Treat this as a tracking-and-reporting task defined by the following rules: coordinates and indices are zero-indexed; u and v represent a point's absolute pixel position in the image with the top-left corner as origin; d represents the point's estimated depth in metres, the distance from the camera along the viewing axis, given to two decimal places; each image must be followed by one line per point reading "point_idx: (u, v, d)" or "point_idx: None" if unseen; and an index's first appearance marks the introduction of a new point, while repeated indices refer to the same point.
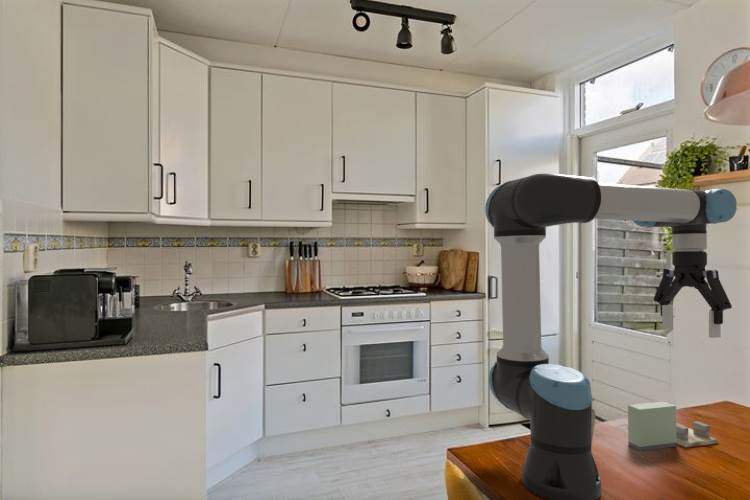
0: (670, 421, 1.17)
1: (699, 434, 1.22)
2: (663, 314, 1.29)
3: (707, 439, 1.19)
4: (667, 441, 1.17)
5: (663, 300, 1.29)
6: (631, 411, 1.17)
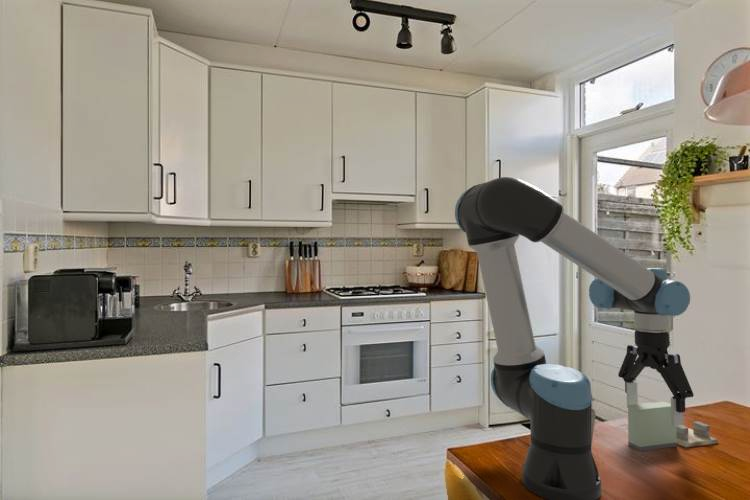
0: (670, 421, 1.17)
1: (699, 434, 1.22)
2: (627, 392, 1.24)
3: (707, 439, 1.19)
4: (667, 441, 1.17)
5: (627, 377, 1.25)
6: (631, 411, 1.17)
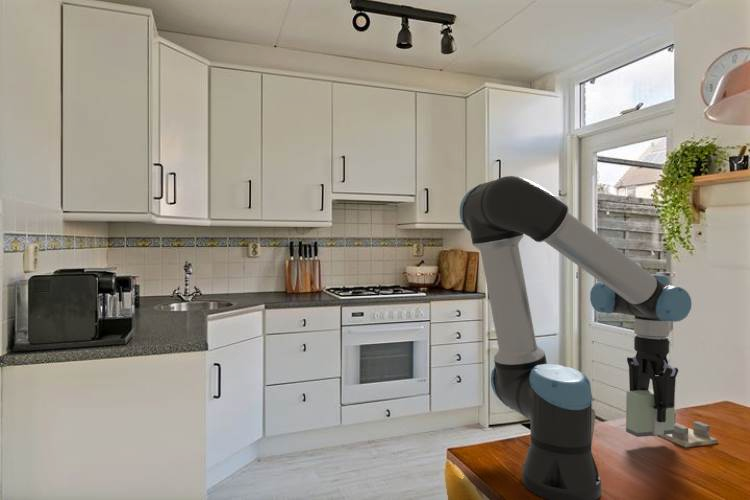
0: (668, 408, 1.17)
1: (699, 434, 1.22)
2: None
3: (707, 439, 1.19)
4: (665, 428, 1.17)
5: None
6: (629, 397, 1.17)
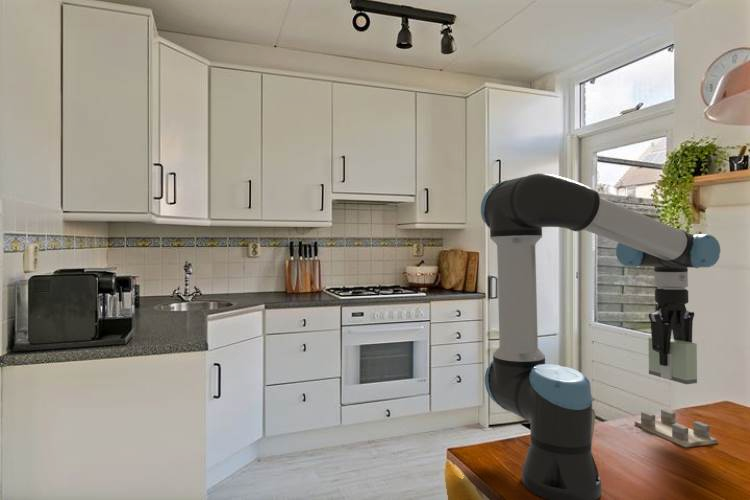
0: (679, 357, 1.21)
1: (699, 434, 1.22)
2: None
3: (707, 439, 1.19)
4: (676, 375, 1.22)
5: None
6: None
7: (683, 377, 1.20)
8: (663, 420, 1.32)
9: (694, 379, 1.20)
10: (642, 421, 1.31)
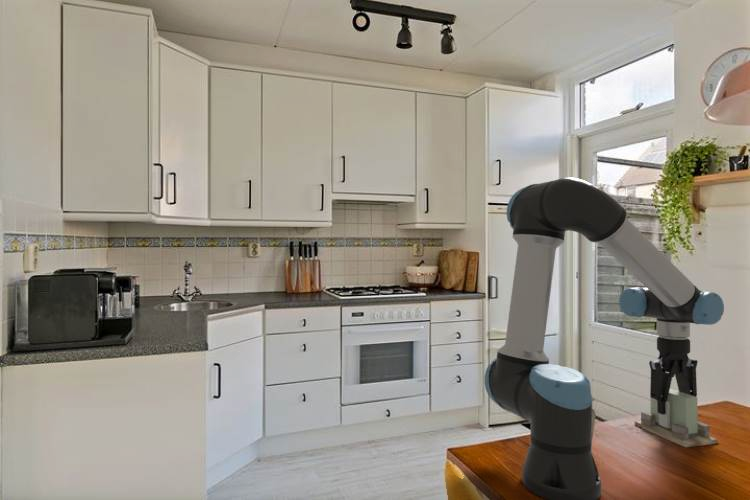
0: (679, 410, 1.22)
1: (699, 434, 1.22)
2: None
3: (707, 439, 1.19)
4: None
5: None
6: None
7: None
8: None
9: (694, 433, 1.21)
10: (642, 421, 1.31)
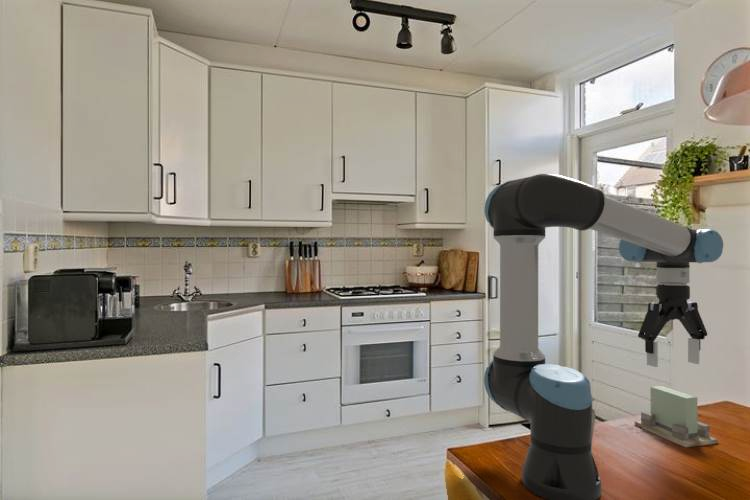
0: (679, 410, 1.22)
1: (699, 434, 1.22)
2: None
3: (707, 439, 1.19)
4: None
5: None
6: None
7: None
8: None
9: (694, 433, 1.21)
10: (642, 421, 1.31)
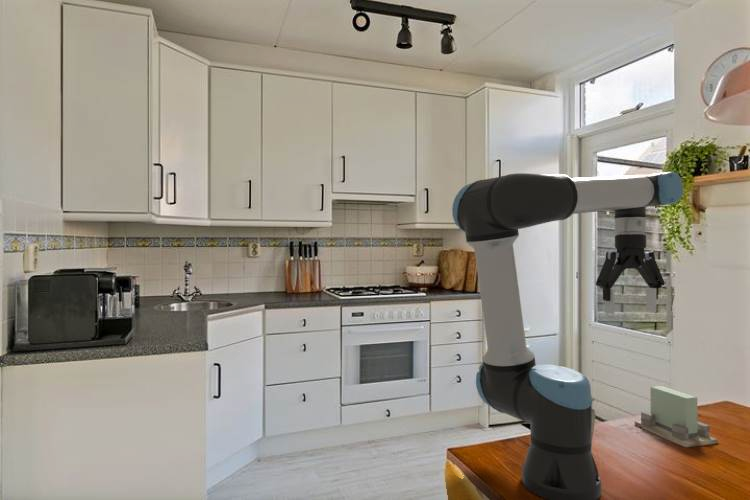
0: (679, 410, 1.22)
1: (699, 434, 1.22)
2: None
3: (707, 439, 1.19)
4: None
5: None
6: None
7: None
8: None
9: (694, 433, 1.21)
10: (642, 421, 1.31)
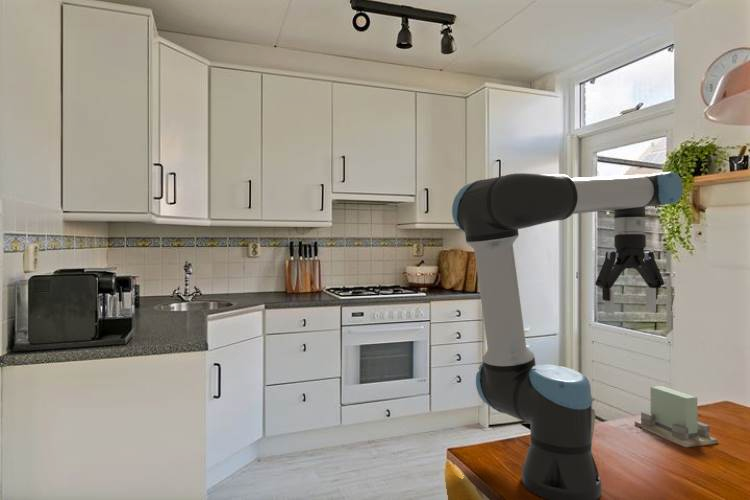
0: (679, 410, 1.22)
1: (699, 434, 1.22)
2: None
3: (707, 439, 1.19)
4: None
5: None
6: None
7: None
8: None
9: (694, 433, 1.21)
10: (642, 421, 1.31)
